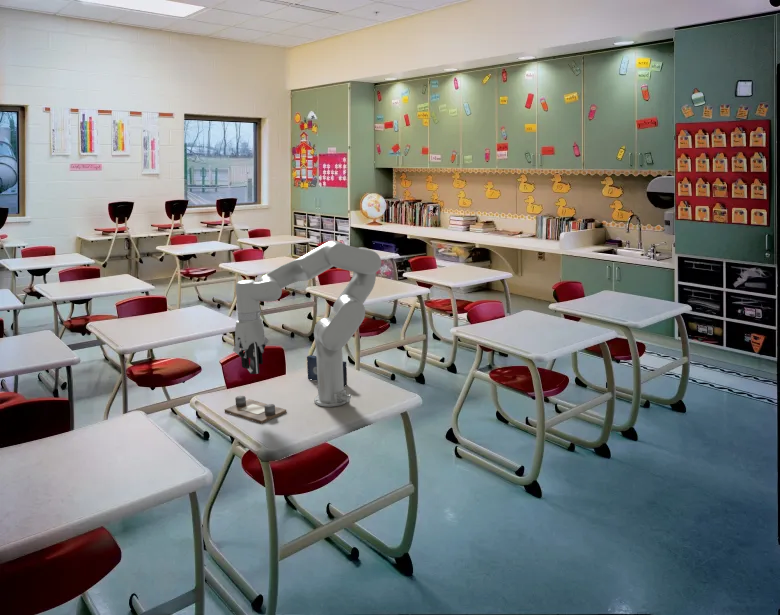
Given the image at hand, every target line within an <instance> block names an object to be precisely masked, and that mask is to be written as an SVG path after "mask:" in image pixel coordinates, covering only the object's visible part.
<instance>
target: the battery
mask: <svg viewBox="0 0 780 615" xmlns="http://www.w3.org/2000/svg"><path fill="white" fill-rule="evenodd" d="M244 352H245V350H244ZM247 357H248V358H249V369H247V371H248V373H249V374H250V375H257V374H260V364H259V359H258V346H257V342H254V343H252V344H251V345H249V347H248V350H247Z"/></svg>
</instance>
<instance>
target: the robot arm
mask: <svg viewBox="0 0 780 615" xmlns="http://www.w3.org/2000/svg"><path fill="white" fill-rule="evenodd" d="M380 256H381V255H379V253H378V252H376V251H374V250H371V249H370V248H367V247H361V246H359V247H355V246H351V245H349V244H345V243H343V242H341V241H338V240H329V241H327V242H325V243H323V244H321V245H320V246H318V247H316V248H315V249H313V250H311V251H309V252H307V253H306V254H304V255H302V256H300V257H298V258H296V259H294V260H292V261H290V262H287V263H285V264H283V265H280V266H278V267H276V268H275V269H273V270H271V271H269V272H267V273H266V274H264V275H263V276H261V277H260V278H259V279H258V281H257V280H253V279H245V280H239V281H237V282H236V284H235V292H236V293H235V294H236V296H235V297H236V308H237V311H236V312H237V320H236V323H235V328H234V329H235V331H234V335H235V336H234V344H235V346H234V348H233V349H232V351H233V352H234V353H236V354H237V355H238V356H239V358H240V359H241V367H242V368H243V369H247V370H248V369H249V366H250V358H248V357H247V350H248V347H249V345H251V344H252V343H254V342H257V346H258V359H259V365H263V364H264V360H263V354H264V352H265V348H266V346H267V344H268V342H269V340H268V338H267V337H266V335H265V329H264V324H263V319H262V318H261V314H262V310H261V308H260V302H267V303H268V302H276V301H278V299H280V298H281V296H282V293H283V289H284V288H286V287H287V286H289V285H292V284H294V283H298V282H305V281H310V280H312V279H315V278H316V277H318V276H319V275H321V274H323V273H324V272H327V271H328V270H329V269H331V268H333V267H335V268H337V269H341V270H345V271H349V272H352V276H351V279H350V280H349V282H348V284H347V286H346V287H345V288H344V289H343V290H342V292H341V294H340V295H339V296H338V298H336V300H335V302H334V303H333V308H332V309H333V312H334V314H335V315H334V317H333V318H332V317H323V318H320V319H319V320H318V321H317V322H316V324H315V326H314V330H313V337H314V344H315V356H316V357H317V379H318V382H317V393H318V394H317V395H316V396H315V397H314V400H313V401H314V403H315V404H316V405H317V406H320V407H324V408H325V407H327V408H332V407H333V408H334V407H340V406H342V405H344V404H346V403H349V402H350V400H351V398H352V395H351V394H347V389H345V388H344V387H345V386H344V383H343V361H344V360H343V359H344V358H343V348H344V347H345V346H346V344H348V343H349V341H350V340H351V338H352V337H353V335H354V334H355V333H356V332H357V330H358V329H359V328H360V327H361V324H362V323H363V321H364V320H365V316H366V308H365V305H364V303H365V302H366V300H367V299H368V297H369V296H370V294H371V292H372V291H373V290H374V287H375V284H376V277H377V272H378V271H380V269H381V266H382V258H381V257H380ZM244 350H245V352H244Z"/></svg>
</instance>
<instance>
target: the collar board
mask: <svg viewBox="0 0 780 615" xmlns="http://www.w3.org/2000/svg"><path fill="white" fill-rule="evenodd" d="M226 412H227V413H226ZM224 413H226V414H229V413H231V414H230V415H232V414H233V415H232V416H236V417H239V418H243V419H245V418H246V419H245V420H248V419H249V421H252V420H253V421H252V422H255V421H256V423H258V422H259V423H258V424H261V423H262V424H264V423H266V422H268V421H270V420H274V419H275V418H277V417H279V416H282V415H284V414H286V413H287V409H286V408H282V407H278V406H275V404H274V403H264V402H260V401H258V400H254V399H250V398H249V399H247V397H246V395H239V396H235V405H233V406H230V407H227V408H225V409H224Z"/></svg>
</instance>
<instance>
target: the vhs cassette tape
mask: <svg viewBox="0 0 780 615" xmlns="http://www.w3.org/2000/svg"><path fill="white" fill-rule="evenodd" d="M306 361H307V363H306V366H307V369H306V370H307V380H308V379H312V380H317V381H318V379H317V357H316V355H313V354H310V355H307V356H306ZM347 370H348V369H347V361H344V360H343V383H344V387H346V386H348V374H347V373H348V372H347ZM312 380H311V381H312ZM317 381H316V382H317ZM345 385H346V386H345Z"/></svg>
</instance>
